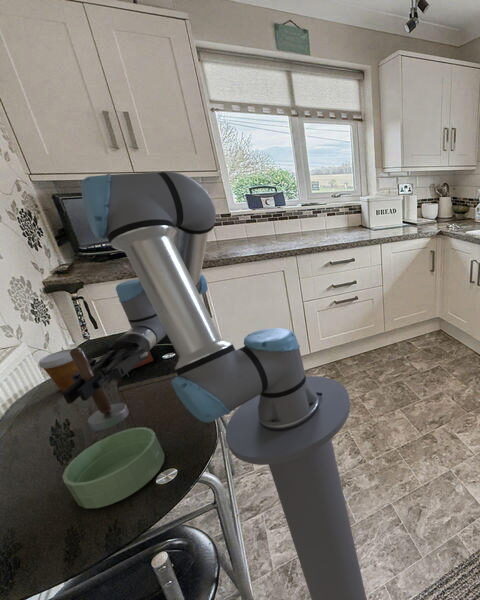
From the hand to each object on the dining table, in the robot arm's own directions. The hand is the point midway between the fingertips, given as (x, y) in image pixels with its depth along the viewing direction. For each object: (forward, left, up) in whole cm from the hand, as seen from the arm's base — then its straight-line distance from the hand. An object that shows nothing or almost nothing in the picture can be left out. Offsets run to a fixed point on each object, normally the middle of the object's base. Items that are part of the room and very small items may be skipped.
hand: (74, 396), depth 68 cm
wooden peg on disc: (-2, -5, -11) cm, 12 cm away
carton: (+1, -64, -20) cm, 67 cm away
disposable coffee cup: (+17, -57, -20) cm, 63 cm away
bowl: (-3, +5, -20) cm, 21 cm away
